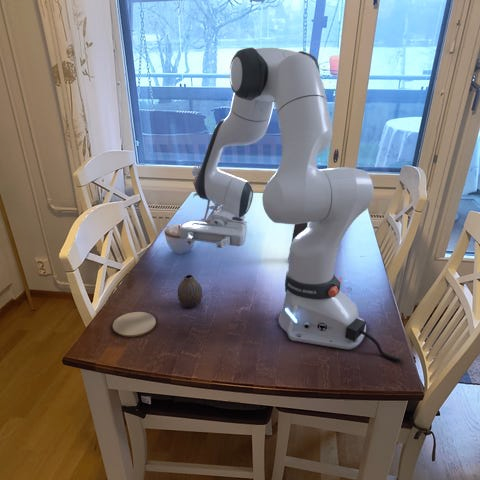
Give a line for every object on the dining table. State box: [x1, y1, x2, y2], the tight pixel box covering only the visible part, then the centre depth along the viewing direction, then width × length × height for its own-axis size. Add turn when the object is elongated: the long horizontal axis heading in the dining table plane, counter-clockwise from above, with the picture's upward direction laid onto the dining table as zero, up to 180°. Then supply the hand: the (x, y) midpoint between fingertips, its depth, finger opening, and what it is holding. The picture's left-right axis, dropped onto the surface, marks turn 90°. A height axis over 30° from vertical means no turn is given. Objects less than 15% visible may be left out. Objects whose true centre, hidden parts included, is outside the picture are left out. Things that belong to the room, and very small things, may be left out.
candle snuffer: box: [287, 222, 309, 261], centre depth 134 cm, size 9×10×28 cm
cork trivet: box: [112, 311, 157, 338], centre depth 111 cm, size 11×11×1 cm
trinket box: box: [164, 223, 196, 255], centre depth 148 cm, size 11×11×9 cm
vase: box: [176, 274, 203, 309], centre depth 117 cm, size 7×7×9 cm
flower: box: [191, 163, 248, 224], centre depth 164 cm, size 20×22×25 cm
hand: (203, 243), depth 122 cm, fingers open, 8 cm apart
